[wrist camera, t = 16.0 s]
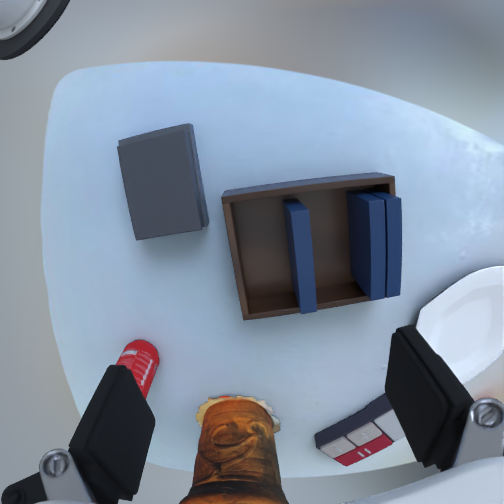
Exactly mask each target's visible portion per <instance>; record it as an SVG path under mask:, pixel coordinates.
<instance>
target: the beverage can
mask: <svg viewBox="0 0 504 504" xmlns="http://www.w3.org/2000/svg"><path fill="white" fill-rule="evenodd" d="M116 365H125V366H126V367H127V369H130V370H131V371H132V373H133V375H134V377H135V379H136V382H137V384H138V386H139V388H140V390H141V392H142V394H143V396H144V398H145V400H146V397H147V394H148V392H149V389H150V386H151V383H152V381H153V378H154V375H155V373H156V370H157V367H158V365H159V357H158V351H157V349H156V348H155V347H154V346H153V345H152V344H151V343H149V342H148V341H145V340H135V341H133V342H131V343H129V344H128V345H127V346H126V347H125V349H124V351H123V352H122V354H121V356H120V358H119V360H118V361H117V363H116Z"/></svg>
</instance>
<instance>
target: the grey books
mask: <svg viewBox="0 0 504 504" xmlns="http://www.w3.org/2000/svg"><path fill="white" fill-rule="evenodd" d="M118 142H119V146H118V147H117V149H118V155H119V161H120V167H121V172H122V178H123V183H124V188H125V193H126V198H127V203H128V207H129V212H130V216H131V221H132V225H133V229H134V234H135V238H136V240H142V239H148V238H154V237H160V236H166V235H172V234H178V233H184V232H190V231H197V230H202V228H203V227H207V225H208V223H209V218H208V213H207V207H206V202H205V196H204V191H203V185H202V179H201V173H200V167H199V161H198V155H197V149H196V143H195V137H194V131H193V125H192V124H189V123H188V124H183V125H178V126H174V127H169V128H165V129H161V130H157V131H153V132H149V133H145V134H141V135H137V136H133V137H130V138H126V139H122V140H119V141H118Z"/></svg>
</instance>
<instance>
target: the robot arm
mask: <svg viewBox="0 0 504 504" xmlns="http://www.w3.org/2000/svg"><path fill="white" fill-rule="evenodd" d="M46 1H47V0H0V40H6V39H9V38H12V37H13V36H15V35H17V34H18V33H20V32H21V31H22V30H23V29H25V28H26V27H27V26H28V25H29V24H30V23H31V22H32V21H33V19H34V18H35V17H36V16H37V15H38V13H39V12H40V11H41V9H42V8H43V6H44V5H45V3H46ZM385 393H386V396H387V398H388V400H389V402H390V404H391V406H392V408H393V410H394V412H395V415H396V417H397V419H398V421H399V423H400V425H401V427H402V429H403V431H404V434H405V436H406V438H407V440H408V442H409V444H410V447H411V449H412V451H413V453H414V455H415V458H416V460H417V461H418V462H422V463H423V465H424V467H425V468H426V467H429V466H431V465H433V464H436V466H437V468H438V469H439V471H438V474H435V475H432V476H430V477H427V478H425V479H422V480H420V481H417V482H414V483H411V484H408V485H405V486H402V487H399V488H396V489H393V490H389V491H386V492H383V493H380V494H376V495H373V496H369V497H366V498H362V499H358V500H354V501H350V502H345V503H341V504H504V405H503V403H502V402H500V401H498V400H497V399H493V398H482V399H479V400H477V401H476V402H475V401H474V400H473V398H472V397H471V396H470V394H469V393H468V392H467V390H466V389H465V387H464V386H463V385H462V383H461V382H460V381H459V379H458V378H457V377H456V375H455V374H454V373H453V372H452V370H451V369H450V368H449V366H448V365H447V364H446V362H445V361H444V360H443V359H442V357H441V356H440V355H439V354H436V353H435V352H434V350H433V349H432V348H431V347H430V345H429V344H428V343H427V341H426V340H425V339H424V338H423V336H422V335H421V334H420V333H419V332H418V330H417V329H416V328H415V327H414V326H413V325H408V326H404V327H400V328H397V329H396V333H393V334H392V338H391V346H390V355H389V362H388V369H387V376H386V382H385ZM154 427H155V417H154V415H153V413H152V411H151V409H150V407H149V405H148V404H147V402H146V400H145V398H144V396H143V394H142V392H141V390H140V388H139V386H138V384H137V382H136V379H135V377H134V375H133V373H132V371H131V370H130V369H127V367H126V366H125V365H110V366H109V367H108V368H107V370H106V372H105V374H104V376H103V378H102V379H101V381H100V383H99V385H98V387H97V389H96V391H95V393H94V395H93V397H92V399H91V401H90V403H89V405H88V407H87V409H86V411H85V413H84V415H83V417H82V419H81V421H80V423H79V425H78V427H77V429H76V431H75V433H74V435H73V437H72V439H71V441H70V444H69V447H70V448H69V450H68V451H66V450H64V449H54V450H51V451H49V452H47V453H46V454H45V455H44V456H43V457H42V459H41V460H40V464H39V471H40V472H38V473H36V474H34V475H31V476H29V477H27V478H25V479H23V480H21V481H19V482H16V483H14V484H12V485H10V486H8V487H7V488H6V489H5V490H4V492H3V494H2V498H1V501H2V504H118V500H119V499H122V500H128V501H132V499H133V495H135V494H137V492H138V489H139V485H140V480H141V477H142V472H143V469H144V465H145V461H146V457H147V453H148V449H149V445H150V442H151V438H152V434H153V431H154Z"/></svg>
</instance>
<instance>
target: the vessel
mask: <svg viewBox="0 0 504 504" xmlns="http://www.w3.org/2000/svg"><path fill="white" fill-rule="evenodd" d="M199 411H200V412H198V413H197V414H196V421H197V422H198V423H199V426H200V427H201V428H202V430H201V435H200V439H199V444H198V453H197V456H196V460H195V466H194V477H193V484H192V487H191V489H190V491H189V493H188V495H187V496H186V497H185V498H183V499H182V500H181V501H180V503H179V504H289V503H288V501H287V499H286V497H285V494H284V493H283V490H282V487H281V478H280V472H279V464H278V459H277V453H276V446H275V439H274V433H276V432H278V431H280V421H279V420H278V418H276V417H274V416H272V414H273V413H274V412H273V411H272V407H270V406H268V405H267V404H266V402H265V401H264V400H260V401H256V399H254V398H253V397H245V398H243V397H242V396H238V395H237V397H236V398H235V397H230V396H221V397H219V399H210V397H209V398H208V402H206V403H204V404H203V405H201V406H200V407H199Z"/></svg>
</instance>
